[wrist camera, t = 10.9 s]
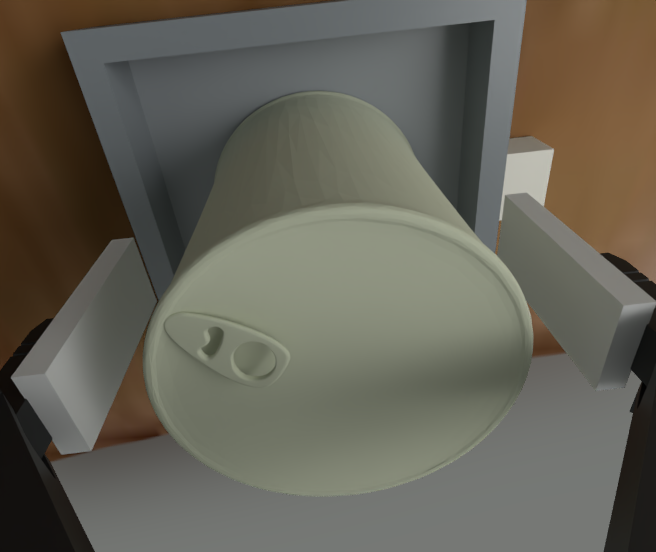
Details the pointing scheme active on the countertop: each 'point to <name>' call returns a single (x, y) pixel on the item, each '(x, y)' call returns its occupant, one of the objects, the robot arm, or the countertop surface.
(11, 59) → the countertop surface
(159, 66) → the drawer
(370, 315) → the can
